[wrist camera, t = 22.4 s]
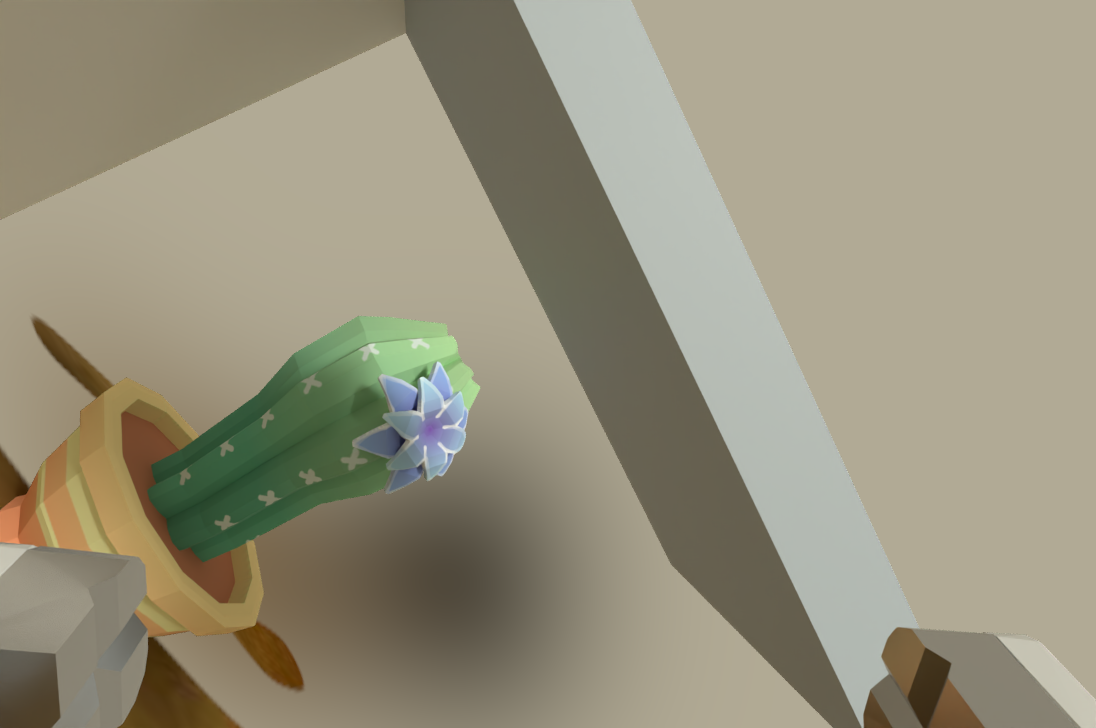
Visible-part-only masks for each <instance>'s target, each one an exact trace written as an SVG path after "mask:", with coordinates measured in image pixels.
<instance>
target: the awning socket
mask: <svg viewBox="0 0 1096 728" xmlns="http://www.w3.org/2000/svg"><path fill="white" fill-rule="evenodd" d="M404 33H406V34H407V36H408V38H409V40H410V42H411V44H412V46H413V48H414V50H415V52H416V54H417V56H418V58H419V60H420V62H421V64H422V66H423V68H424V70H425V72H426V74H427V76H428V78H429V80H430V82H431V84H432V86H433V88H434V90H435V92H436V94H437V96H438V98H439V100H440V102H441V104H442V106H443V108H444V110H445V112H446V114H447V116H448V118H449V120H450V122H451V124H452V126H453V128H454V130H455V132H456V134H457V136H458V138H459V140H460V142H461V144H462V146H463V148H464V150H465V152H466V154H467V156H468V158H469V160H470V162H471V164H472V166H473V168H474V170H475V172H476V174H477V176H478V178H479V180H480V182H481V184H482V186H483V188H484V190H485V192H486V194H487V196H488V198H489V200H490V202H491V204H492V206H493V208H494V210H495V212H496V214H497V216H498V218H499V220H500V222H501V224H502V226H503V228H504V230H505V232H506V234H507V236H508V238H509V240H510V242H511V244H512V246H513V248H514V250H515V252H516V254H517V256H518V258H519V260H520V262H521V264H522V266H523V268H524V270H525V272H526V274H527V276H528V278H529V280H530V282H531V284H532V286H533V288H534V290H535V292H536V294H537V296H538V298H539V300H540V302H541V305H542V307H543V309H544V310H545V313H546V315H547V317H548V318H549V321H550V323H551V324H552V326H553V328H554V331H555V332H556V334H557V337H558V339H559V340H560V343H561V345H562V347H563V349H564V351H565V353H566V355H567V357H568V359H569V361H570V363H571V365H572V367H573V369H574V371H575V373H576V375H577V377H578V379H579V381H580V383H581V385H582V386H583V389H584V391H585V393H586V395H587V397H588V399H589V401H590V403H591V405H592V407H593V409H594V411H595V413H596V415H597V417H598V419H599V421H600V423H601V425H602V427H603V429H604V431H605V432H606V435H607V437H608V439H609V441H610V443H611V445H612V447H613V449H614V451H615V453H616V455H617V457H618V459H619V461H620V463H621V465H622V467H623V469H624V471H625V473H626V475H627V477H628V479H629V481H630V483H631V485H632V487H633V489H634V491H635V493H636V495H637V497H638V499H639V501H640V503H641V505H642V507H643V509H644V511H645V513H646V515H647V517H648V519H649V521H650V523H651V525H652V527H653V529H654V531H655V533H656V535H657V537H658V539H659V541H660V543H661V545H662V547H663V549H664V551H665V553H666V555H667V557H668V559H669V561H670V563H671V565H672V566H673V567H674V568H675V569H676V570H677V571H678V572H679V573H680V574H681V575H682V576H683V577H684V578H685V579H686V580H687V581H688V582H689V583H690V584H691V585H692V586H693V587H694V588H695V589H696V590H697V591H698V592H699V593H700V594H701V595H702V596H703V597H704V598H705V599H706V600H707V601H708V602H709V603H710V604H711V605H712V606H713V607H714V608H715V609H716V610H717V611H718V612H719V613H720V614H721V615H722V616H723V617H724V618H725V619H726V620H727V621H728V622H729V623H730V624H731V625H732V626H733V627H734V628H735V629H736V630H737V631H738V632H739V633H740V634H741V635H742V636H743V637H744V638H745V639H746V640H747V641H748V642H749V643H750V644H751V645H752V646H753V647H754V648H755V649H756V650H757V651H758V652H759V653H760V655H762V656H763V658H764V659H765V660H766V661H768V663H769V664H770V665H771V666H772V667H773V668H774V669H775V670H777V672H778V673H779V674H780V675H781V676H782V677H783V678H784V679H785V680H786V681H787V682H788V683H789V684H790V685H791V686H792V687H793V688H794V689H795V690H796V691H797V692H798V693H799V694H800V695H801V696H802V697H803V698H804V699H805V700H806V701H807V702H808V703H809V704H810V705H811V706H812V707H813V708H814V709H815V710H816V711H817V712H818V713H819V714H820V715H821V716H822V717H823V718H824V719H825V720H826V721H827V722H828V723H829V724H830V725H831V726H832V727H833V728H864V723H863V713H864V710H865V706H866V703H867V699H868V696H869V692H870V689H871V688H873V687H874V686H875V685H876V684H877V683H879V682H880V681H881V680H882V679H883V678H885V677H886V676H887V675H888V671H887V669H886V667H885V665H884V662H883V660H882V658H881V655H882V653H883V650H884V647H885V644H886V641H887V638H888V637H889V636H890V635H891V633H892V632H893V631H894V630H895V629H896V627H905V628H919V626H918V624H917V622H916V620H915V618H914V616H913V613H912V611H911V609H910V607H909V605H908V602H907V600H906V598H905V596H904V594H903V592H902V589H901V587H900V585H899V583H898V581H897V578H896V576H895V574H894V572H893V570H892V568H891V565H890V563H889V561H888V559H887V557H886V554H885V552H884V550H883V548H882V546H881V544H880V542H879V539H878V537H877V535H876V533H875V531H874V529H873V526H872V524H871V522H870V520H869V518H868V516H867V513H866V511H865V509H864V507H863V504H862V503H861V500H860V498H859V496H858V494H857V491H856V489H855V487H854V485H853V483H852V481H851V478H850V476H849V474H848V472H847V470H846V467H845V465H844V463H843V461H842V459H841V457H840V455H839V452H838V450H837V448H836V446H835V444H834V442H833V439H832V437H831V435H830V433H829V430H828V428H827V426H826V424H825V422H824V420H823V417H822V415H821V413H820V411H819V409H818V407H817V405H816V402H815V400H814V398H813V396H812V393H811V392H810V389H809V387H808V385H807V383H806V380H805V378H804V376H803V374H802V372H801V370H800V367H799V365H798V363H797V361H796V359H795V357H794V354H793V352H792V350H791V348H790V346H789V343H788V341H787V339H786V337H785V335H784V333H783V330H782V328H781V326H780V324H779V322H778V319H777V317H776V315H775V313H774V311H773V309H772V306H771V304H770V302H769V300H768V298H767V296H766V293H765V291H764V289H763V287H762V285H761V282H760V280H759V279H758V276H757V274H756V272H755V269H754V267H753V265H752V263H751V261H750V259H749V257H748V254H747V252H746V250H745V248H744V245H743V243H742V241H741V239H740V237H739V235H738V233H737V230H736V228H735V226H734V224H733V222H732V220H731V217H730V215H729V213H728V211H727V208H726V207H725V204H724V202H723V200H722V198H721V195H720V193H719V191H718V189H717V187H716V185H715V182H714V180H713V178H712V176H711V174H710V171H709V170H708V167H707V165H706V163H705V161H704V159H703V156H702V154H701V152H700V150H699V148H698V145H697V143H696V141H695V139H694V137H693V134H692V132H691V130H690V128H689V126H688V124H687V122H686V119H685V117H684V115H683V113H682V111H681V108H680V106H679V104H678V102H677V100H676V97H675V95H674V93H673V91H672V89H671V87H670V85H669V82H668V80H667V78H666V76H665V74H664V71H663V69H662V67H661V65H660V63H659V61H658V58H657V56H656V54H655V52H654V50H653V47H652V45H651V43H650V41H649V39H648V37H647V34H646V32H645V30H644V28H643V26H642V24H641V21H640V19H639V17H638V15H637V13H636V11H635V8H634V6H633V4H632V2H631V0H0V220H1V219H3V218H5V217H7V216H10V215H12V214H14V213H16V212H18V211H21V210H23V209H25V208H27V207H29V206H31V205H33V204H36V203H38V202H40V201H42V200H44V199H47V198H49V197H51V196H53V195H55V194H57V193H60V192H62V191H64V190H66V189H68V188H70V187H73V186H75V185H77V184H79V183H81V182H83V181H86V180H88V179H90V178H92V177H94V176H97V175H99V174H101V173H103V172H105V171H107V170H110V169H112V168H113V167H116V166H118V165H120V164H122V163H125V162H127V161H129V160H131V159H133V158H136V157H138V156H140V155H142V154H144V153H146V152H148V151H151V150H153V149H155V148H157V147H159V146H162V145H163V144H166V143H168V142H170V141H172V140H175V139H177V138H179V137H181V136H183V135H186V134H188V133H190V132H192V131H194V130H196V129H198V128H201V127H203V126H205V125H207V124H209V123H211V122H214V121H216V120H218V119H220V118H222V117H224V116H227V115H229V114H231V113H233V112H235V111H237V110H240V109H242V108H244V107H246V106H248V105H251V104H252V103H255V102H257V101H259V100H261V99H264V98H266V97H268V96H270V95H272V94H274V93H277V92H279V91H281V90H283V89H285V88H287V87H290V86H292V85H294V84H296V83H298V82H300V81H302V80H305V79H307V78H309V77H311V76H314V75H316V74H318V73H320V72H322V71H324V70H327V69H329V68H331V67H333V66H335V65H337V64H340V63H342V62H344V61H346V60H348V59H350V58H353V57H355V56H357V55H359V54H361V53H363V52H366V51H367V50H370V49H372V48H374V47H376V46H379V45H381V44H383V43H385V42H387V41H389V40H391V39H394V38H396V37H398V36H400V35H403V34H404ZM919 629H920V628H919Z"/></svg>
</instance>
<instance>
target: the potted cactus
mask: <svg viewBox="0 0 1096 728" xmlns="http://www.w3.org/2000/svg"><path fill="white" fill-rule="evenodd" d="M457 348H458V347H457V343H456V341H455V339H454V338H453V336H448V332H447V325H446V324H441V323H433V322H425V321H416V320H408V319H399V318H391V317H366V316H358V317H356V318H354V319H353V320H351V321H349V322H347V323H346V324H344V325H342V326H341V327H339V328H337V329H336V330H334V331H332V332H330V333H329V334H327V335H325V336H324V337H322V338H320V339H318V340H317V341H315V342H313V343H312V344H310V345H308V346H306V347H305V348H303V349H301V350H299V351H298V352H296V353H294V354H293V355H292V356H291V357H290V359H289V360H288V361H287V362H286V363H285V364H284V365H283V366H282V368H281V369H280V370H279V371H278V372H277V373H276V374H275V376H274V377H273V378H272V379H271V380H270V381H269V382H268V383H267V385H266V386H265V387H264V388H263V389H262V390H261V391H260V393H259V394H258V395H256V396H255V397H254V398H252V399H251V400H249V401H248V402H247V403H245V404H244V405H243V406H241V407H240V408H238V409H237V410H235V411H234V412H233V413H231V414H230V415H228V416H227V417H226V418H224V419H223V420H222V421H220V422H219V423H217V424H216V425H215V426H213V427H212V428H210V429H209V430H208V431H206V432H205V433H203V434H202V435H201V436H199V435H198V434H197V433H196V432H195V431H194V430H193V429H192V428H191V427H190V426H189V424H188V423H187V422H186V421H185V420H184V419H183V418H182V417H181V416H180V415H179V414H178V413H177V411H175V409H174V408H173V407H172V406H171V405H170V404H169V403H168V402H167V401H166V400H165V399H164V397H162V395H160V394H158V393H156V392H154V391H152V390H150V389H148V388H146V387H144V386H143V385H141V384H138V383H137V382H134V381H133V380H131V379H129V378H125V379H123V380H122V381H120V382H119V383H117V384H116V385H114V386H113V387H111V388H110V389H108V390H107V391H105V392H104V393H103V394H101V395H100V396H99V397H98V398H96V399H95V400H94V401H92V402H91V403H90V404H89V405H87V406H86V407H85V408H84V409H82V410H81V411H80V426H79V427H78V428H77V429H76V430H75V431H74V432H73V433H72V434H71V435H70V436H69V437H68V438H67V439H66V440H65V441H64V442H63V443H62V444H61V445H60V446H59V447H58V448H57V449H56V450H55V451H54V452H53V453H52V454H51V455H50V456H49V457H48V458H47V459H46V460H45V461H44V462H43V463H42V465H41V467H40V469H39V471H38V473H37V475H36V477H35V478H34V481H33V482H32V484H31V486H30V488H29V490H28V492H27V494H26V495H22V496H18V497H16V498H14V499H13V500H12V501H11V502H9V503H8V504H7V505H6V506H4V507H3V508H2V509H1V510H0V542H5V543H16V544H28V545H34V546H37V547H39V546H46V547H55V548H64V549H73V550H82V551H91V552H100V553H109V554H118V555H127V556H136V557H139V558H140V559H141V561H142V562H143V563H144V564H145V568H146V584H147V594H146V595H145V597H144V598H143V600H142V601H141V603H140V604H139V606H138V607H137V609H136V610H135V612H134V613H135V614H136V615H137V617H138V618H139V619H140V620H141V622H142V623H143V624H144V625H145V627H146V628H147V629H148V637H157V636H165V635H171V634H176V633H182V632H187V631H191V632H192V633H193V634H195V635H196V636H205V635H216V634H228V633H231V632H235V631H238V630H242V629H245V628H248V627H252V626H255V624H256V620H257V616H258V613H259V609H260V606H261V602H262V598H263V595H264V591H263V586H262V580H261V575H260V570H259V565H258V559H257V554H256V548H255V544H254V541H253V539H255V538H257V537H258V536H260V535H262V534H264V533H266V532H268V531H270V530H272V529H274V528H275V527H277V526H279V525H281V524H283V523H285V522H287V521H289V520H291V519H293V518H295V517H296V516H298V515H300V514H302V513H304V512H306V511H308V510H310V509H312V508H313V507H315V506H317V505H319V504H322V503H328V502H332V501H338V500H343V499H348V498H354V497H359V496H364V495H369V494H372V493H374V492H376V491H379V490H381V489H383V488H384V491H385V493H387V494H390V493H392V492H394V491H396V490H398V489H401V488H403V487H405V486H407V485H409V484H410V483H412V482H414V481H416V480H417V479H419V478H420V477H421V475H422V473H423V471H424V477H425V479H426V480H427V481H429V480H431V479H432V478H433V477H434V476H436V475H439V476H443V474H444V473H445V472H446V470H447V469H448V467H449V465H450V464H451V462H452V460H453V456H454V454H455V453H457V452H458V451H460V450H461V448H462V446H463V444H464V441H465V437H466V433H465V431H464V429H465V427H466V423H467V417H468V411H469V409H470V407H471V405H472V403H473V401H474V399H475V397H476V395H477V393H478V391H479V389H480V386H478V385H477V384H476V383H475V382H474V381H473V380H472V379H471V377H472V376H473V372H472V370H471V369H470V368H469V367H468V366H466V365H465V364H464V363H463V362H462V360H461V358H460V356H459V354H458V349H457Z"/></svg>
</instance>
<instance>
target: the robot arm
mask: <svg viewBox="0 0 1096 728" xmlns="http://www.w3.org/2000/svg"><path fill="white" fill-rule="evenodd" d="M146 594H147V584H146V568H145V564H144V563H143V562H142V561H141V559H140V558H139V557H136V556H127V555H118V554H109V553H100V552H91V551H82V550H73V549H64V548H55V547H46V546H39V547H37V546H34V545H28V544H16V543H5V542H0V728H117V727H119V726H120V725H122V724H123V722H124V721H125V719H126V717H127V715H128V713H129V712H130V710H131V708H132V706H133V705H134V703H135V701H136V698H137V695H138V692H139V689H140V686H141V683H142V680H143V677H144V674H145V667H146V660H147V653H148V629H147V628H146V627H145V625H144V624H143V623H142V622H141V620H140V619H139V618H138V617H137V615H136V614H135V613H134V612H135V610H136V609H137V607H138V606H139V604H140V603H141V601H142V600H143V598H144V597H145V595H146ZM881 658H882V660H883V662H884V665H885V667H886V669H887V671H888V675H887V676H886V677H885V678H883V679H882V680H881V681H880V682H879V683H877V684H876V685H875V686H874V687H873V688H871V689H870V692H869V696H868V699H867V703H866V706H865V710H864V713H863V723H864V728H1096V700H1095V699H1094V698H1093V696H1092V695H1091V694H1090V693H1089V692H1088V691H1087V690H1086V689H1085V688H1084V687H1083V686H1082V685H1081V684H1080V683H1079V682H1078V681H1077V680H1076V679H1075V678H1074V677H1073V675H1071V674H1070V672H1069V671H1068V670H1067V669H1066V668H1065V667H1064V666H1063V665H1062V664H1061V663H1060V662H1059V661H1058V660H1057V659H1056V658H1055V657H1054V656H1053V655H1052V653H1051V652H1050V651H1049V650H1048V649H1047V648H1046V647H1045V646H1044V645H1043V644H1042V643H1041V642H1040V641H1038V640H1036V639H1034V638H1032V637H1029V636H1027V635H1021V634H1004V633H986V632H984V633H971V632H957V631H945V630H931V629H919V628H905V627H896V629H895V630H894V631H893V632H892V633H891V635H890V636H889V637H888V638H887V641H886V644H885V647H884V650H883V653H882V655H881Z"/></svg>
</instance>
